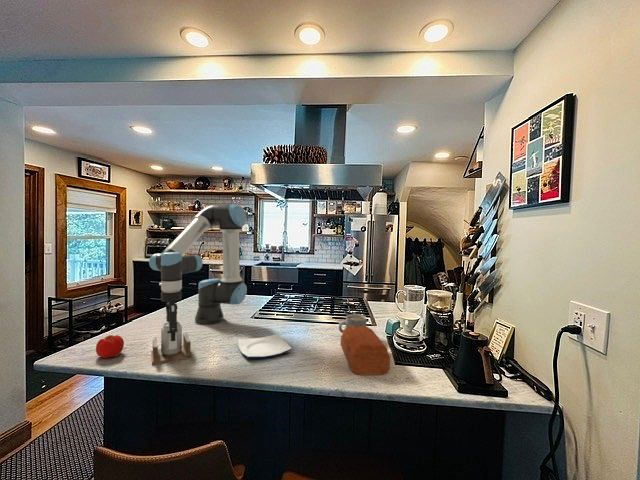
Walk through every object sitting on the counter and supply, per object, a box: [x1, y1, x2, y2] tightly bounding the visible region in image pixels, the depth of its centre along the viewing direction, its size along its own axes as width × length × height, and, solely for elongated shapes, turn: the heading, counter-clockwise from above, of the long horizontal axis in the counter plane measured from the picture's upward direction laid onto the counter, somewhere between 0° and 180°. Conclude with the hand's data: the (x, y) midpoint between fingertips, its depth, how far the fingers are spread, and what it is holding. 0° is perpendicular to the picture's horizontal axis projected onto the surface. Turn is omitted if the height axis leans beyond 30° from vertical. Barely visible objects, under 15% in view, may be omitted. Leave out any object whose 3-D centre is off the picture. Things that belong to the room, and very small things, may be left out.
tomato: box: [95, 334, 125, 359], centre depth 119 cm, size 9×9×8 cm
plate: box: [237, 333, 293, 360], centre depth 128 cm, size 20×20×3 cm
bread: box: [340, 325, 391, 376], centre depth 120 cm, size 16×27×11 cm, turn 6°
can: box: [160, 321, 183, 356], centre depth 120 cm, size 8×8×12 cm
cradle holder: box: [150, 332, 193, 366], centre depth 120 cm, size 14×12×7 cm
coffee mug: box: [338, 313, 367, 334], centre depth 144 cm, size 13×10×10 cm
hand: (171, 342), depth 120 cm, fingers open, 13 cm apart
